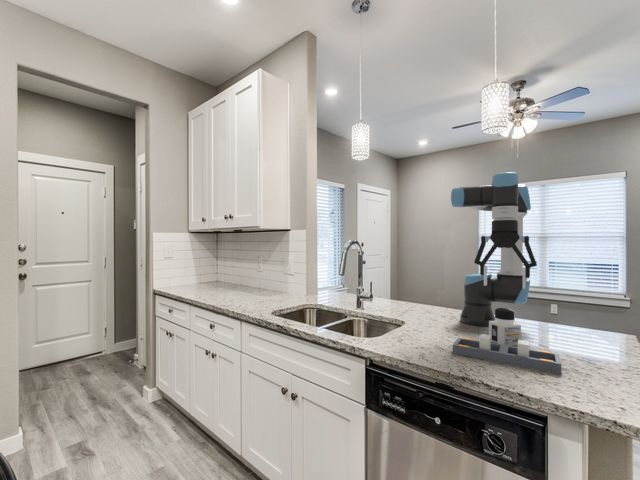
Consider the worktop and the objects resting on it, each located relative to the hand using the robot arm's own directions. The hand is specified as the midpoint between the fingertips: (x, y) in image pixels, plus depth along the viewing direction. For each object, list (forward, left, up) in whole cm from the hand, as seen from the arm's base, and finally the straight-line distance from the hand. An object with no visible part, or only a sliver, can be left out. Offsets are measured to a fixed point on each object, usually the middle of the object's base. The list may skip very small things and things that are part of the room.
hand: (504, 286), depth 106 cm
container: (-19, -1, -24) cm, 31 cm away
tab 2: (0, +5, -23) cm, 23 cm away
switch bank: (0, 0, -24) cm, 24 cm away
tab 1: (0, -6, -23) cm, 23 cm away
